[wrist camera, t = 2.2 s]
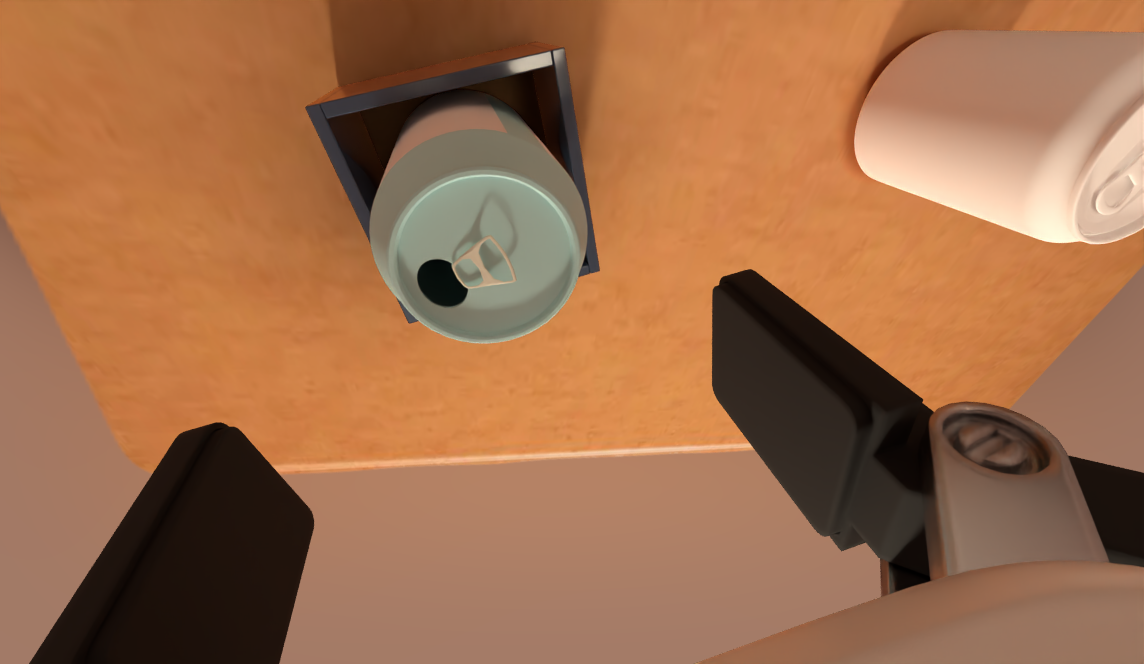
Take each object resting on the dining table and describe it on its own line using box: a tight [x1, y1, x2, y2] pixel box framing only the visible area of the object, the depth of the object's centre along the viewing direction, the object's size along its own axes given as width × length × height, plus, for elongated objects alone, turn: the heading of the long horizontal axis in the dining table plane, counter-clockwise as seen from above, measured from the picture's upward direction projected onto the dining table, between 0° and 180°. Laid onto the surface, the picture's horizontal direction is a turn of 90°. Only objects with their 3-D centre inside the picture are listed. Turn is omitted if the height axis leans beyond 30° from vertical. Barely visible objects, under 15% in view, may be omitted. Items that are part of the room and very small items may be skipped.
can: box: [369, 90, 587, 343], centre depth 18 cm, size 7×7×12 cm
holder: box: [305, 42, 600, 323], centre depth 21 cm, size 9×9×6 cm
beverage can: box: [854, 30, 1144, 244], centre depth 22 cm, size 8×8×12 cm
